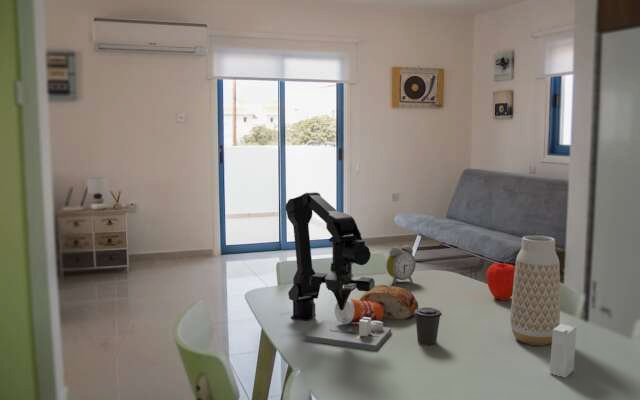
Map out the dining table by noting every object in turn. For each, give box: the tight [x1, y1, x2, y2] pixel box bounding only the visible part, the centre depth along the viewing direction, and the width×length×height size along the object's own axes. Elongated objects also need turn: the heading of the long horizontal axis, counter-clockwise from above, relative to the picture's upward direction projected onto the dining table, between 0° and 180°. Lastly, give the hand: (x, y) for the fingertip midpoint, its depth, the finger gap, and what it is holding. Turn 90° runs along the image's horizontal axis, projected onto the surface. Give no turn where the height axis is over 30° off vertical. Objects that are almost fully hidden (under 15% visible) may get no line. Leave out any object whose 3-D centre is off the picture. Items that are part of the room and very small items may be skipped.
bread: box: [358, 284, 419, 320], centre depth 210 cm, size 20×18×10 cm
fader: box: [358, 317, 371, 336], centre depth 182 cm, size 2×4×5 cm, turn 158°
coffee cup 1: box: [334, 297, 384, 324], centre depth 194 cm, size 8×8×15 cm
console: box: [304, 319, 392, 351], centre depth 185 cm, size 22×16×4 cm
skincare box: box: [549, 323, 577, 379], centre depth 158 cm, size 6×4×12 cm
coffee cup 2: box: [414, 307, 442, 347], centre depth 180 cm, size 8×8×10 cm
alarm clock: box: [386, 244, 416, 285], centre depth 248 cm, size 12×7×15 cm, turn 123°
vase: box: [510, 235, 561, 346], centre depth 181 cm, size 14×14×31 cm
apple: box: [486, 262, 515, 301], centre depth 224 cm, size 12×12×13 cm
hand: (341, 309), depth 184 cm, fingers closed
